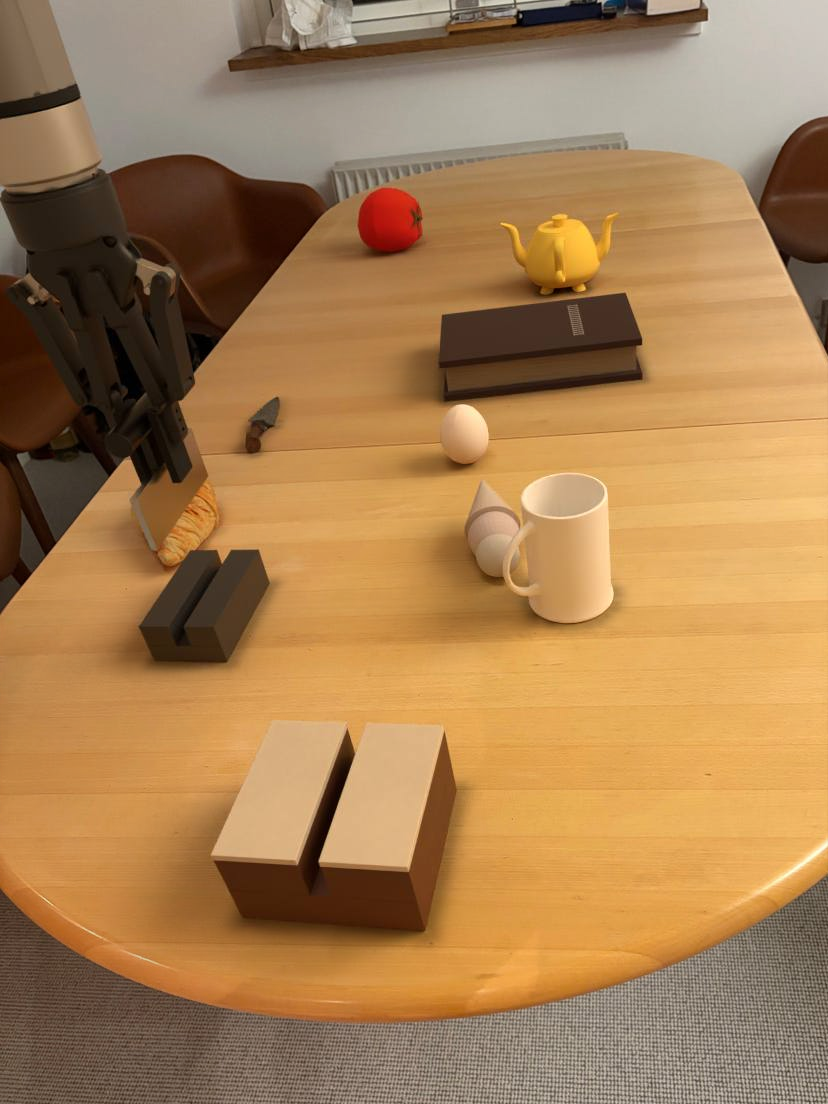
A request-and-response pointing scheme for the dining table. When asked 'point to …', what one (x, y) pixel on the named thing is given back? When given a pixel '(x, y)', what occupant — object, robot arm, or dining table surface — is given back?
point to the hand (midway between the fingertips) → (167, 475)
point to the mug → (565, 547)
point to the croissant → (189, 526)
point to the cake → (340, 825)
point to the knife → (261, 424)
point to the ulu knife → (156, 474)
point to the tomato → (390, 220)
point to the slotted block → (205, 606)
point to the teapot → (561, 253)
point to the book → (539, 347)
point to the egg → (464, 434)
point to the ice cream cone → (491, 531)
